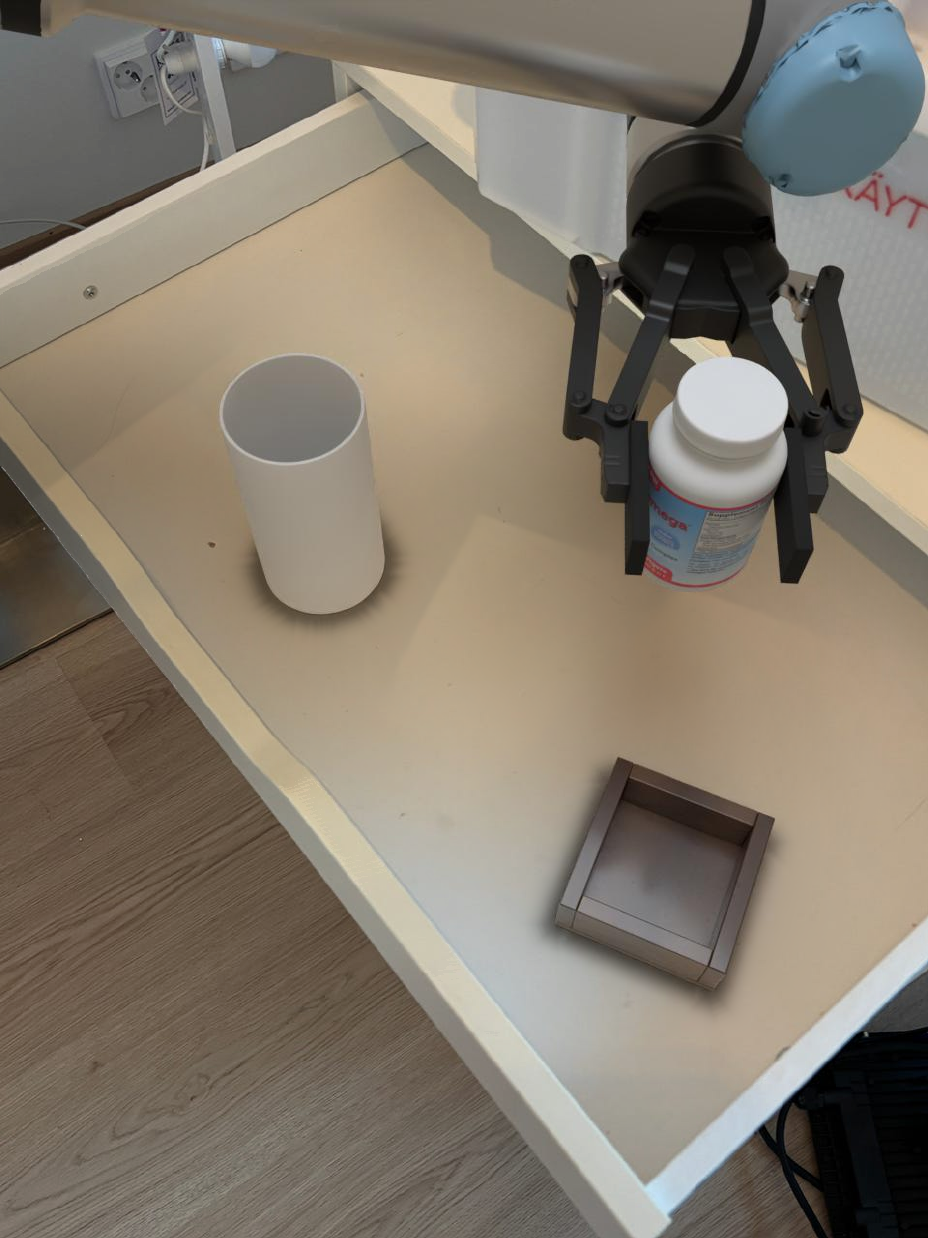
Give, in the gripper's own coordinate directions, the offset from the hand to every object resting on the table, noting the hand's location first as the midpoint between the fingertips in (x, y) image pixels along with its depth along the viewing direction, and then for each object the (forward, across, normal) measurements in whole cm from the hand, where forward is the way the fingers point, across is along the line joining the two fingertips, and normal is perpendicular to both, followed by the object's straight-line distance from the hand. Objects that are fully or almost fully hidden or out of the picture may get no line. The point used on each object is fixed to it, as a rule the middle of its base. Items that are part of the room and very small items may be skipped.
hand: (716, 561), depth 49 cm
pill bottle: (-5, 0, -7) cm, 8 cm away
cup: (-14, +22, -24) cm, 35 cm away
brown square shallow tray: (+7, -1, -24) cm, 25 cm away
